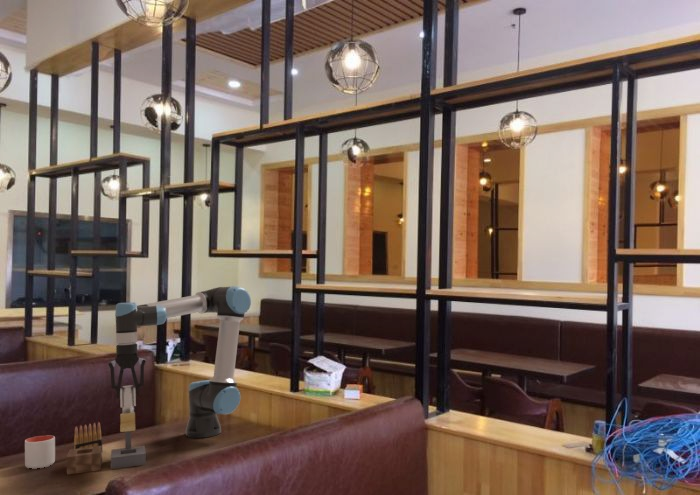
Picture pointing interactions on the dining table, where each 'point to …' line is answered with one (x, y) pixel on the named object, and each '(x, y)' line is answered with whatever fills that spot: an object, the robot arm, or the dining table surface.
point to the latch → (127, 422)
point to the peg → (128, 399)
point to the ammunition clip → (87, 437)
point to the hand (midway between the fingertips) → (128, 405)
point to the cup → (39, 451)
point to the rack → (84, 460)
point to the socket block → (128, 455)
